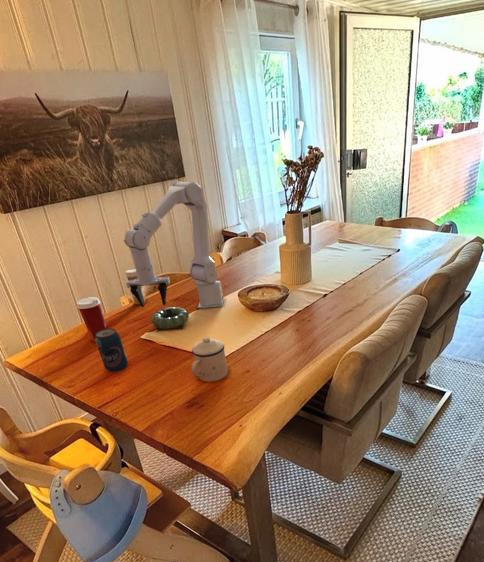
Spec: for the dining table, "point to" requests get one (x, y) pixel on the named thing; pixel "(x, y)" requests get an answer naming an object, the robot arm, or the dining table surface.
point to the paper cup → (92, 315)
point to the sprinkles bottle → (132, 276)
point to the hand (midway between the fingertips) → (154, 305)
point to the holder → (170, 314)
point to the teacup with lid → (209, 360)
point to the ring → (164, 322)
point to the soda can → (111, 350)
